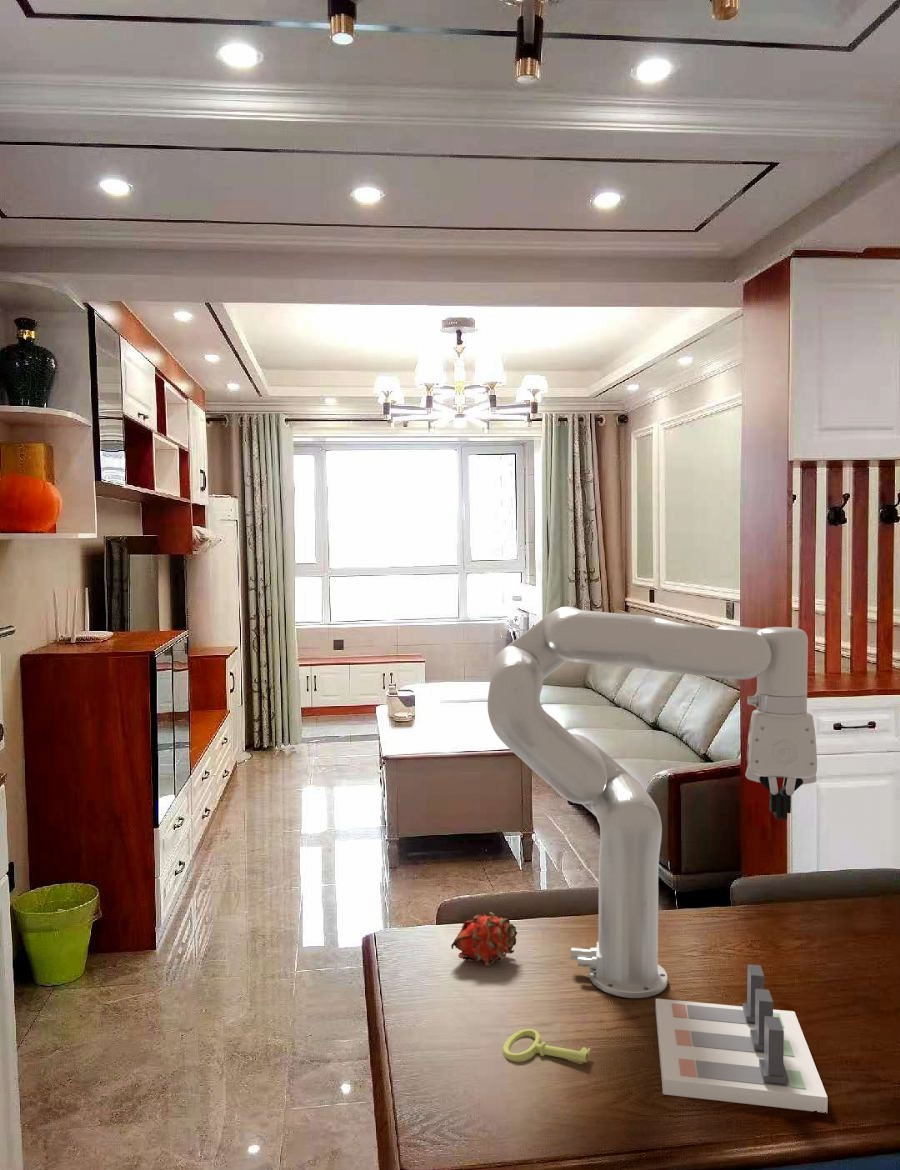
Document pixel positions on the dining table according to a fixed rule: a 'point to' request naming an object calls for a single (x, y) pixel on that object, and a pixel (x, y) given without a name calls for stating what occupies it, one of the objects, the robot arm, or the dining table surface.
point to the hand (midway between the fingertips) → (780, 816)
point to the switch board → (731, 1057)
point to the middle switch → (761, 1017)
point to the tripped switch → (773, 1052)
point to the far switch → (752, 990)
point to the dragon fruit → (485, 939)
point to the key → (541, 1049)
